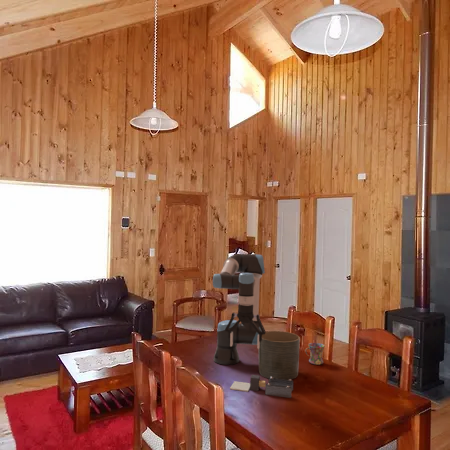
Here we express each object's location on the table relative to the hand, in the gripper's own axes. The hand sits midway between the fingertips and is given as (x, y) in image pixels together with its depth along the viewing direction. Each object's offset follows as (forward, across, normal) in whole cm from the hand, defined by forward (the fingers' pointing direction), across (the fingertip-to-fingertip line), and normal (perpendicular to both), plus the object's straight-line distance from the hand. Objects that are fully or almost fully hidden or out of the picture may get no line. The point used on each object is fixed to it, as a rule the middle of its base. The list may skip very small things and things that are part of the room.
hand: (244, 346), depth 196 cm
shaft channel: (+19, +18, -2) cm, 26 cm away
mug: (+19, +34, +45) cm, 59 cm away
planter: (+19, +15, +23) cm, 33 cm away
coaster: (+19, -1, -2) cm, 19 cm away
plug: (+19, +7, -2) cm, 21 cm away
